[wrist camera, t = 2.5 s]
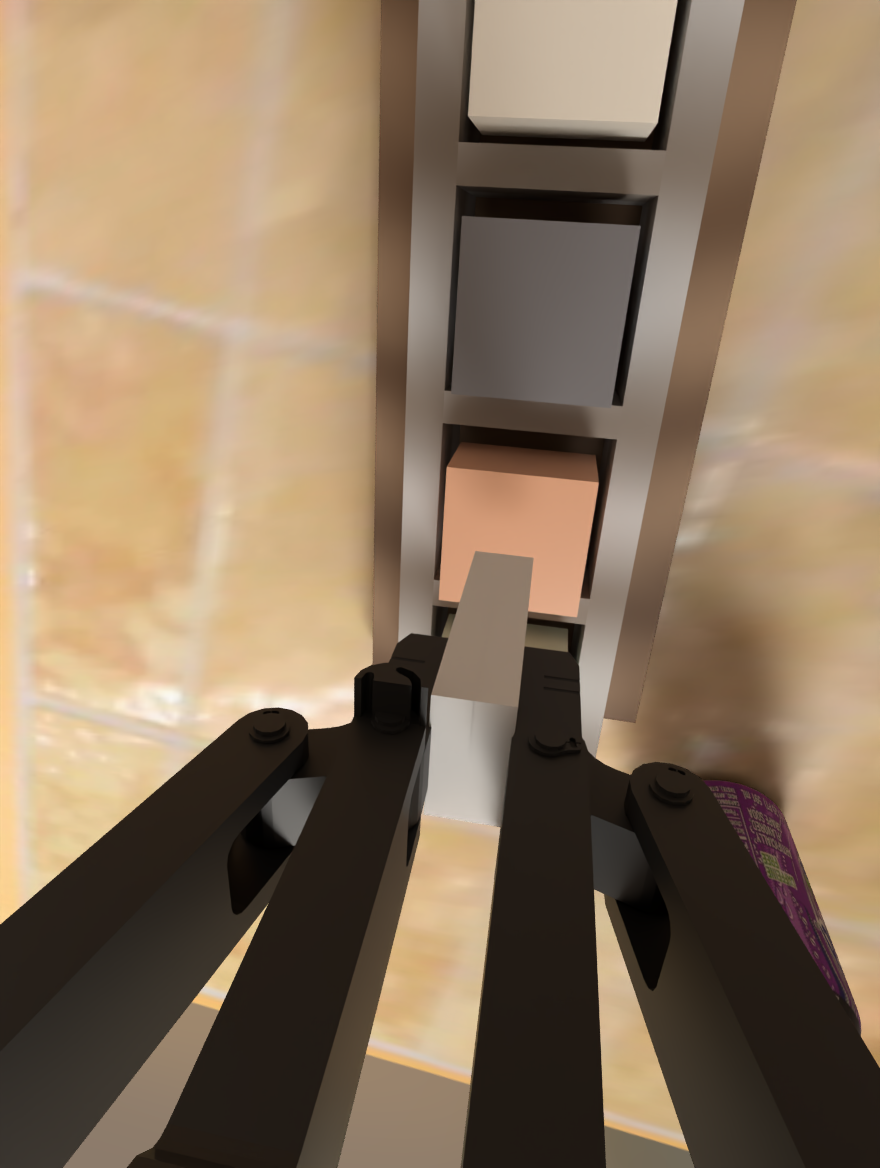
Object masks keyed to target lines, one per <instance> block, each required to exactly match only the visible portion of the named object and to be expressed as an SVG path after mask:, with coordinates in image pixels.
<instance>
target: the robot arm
mask: <svg viewBox="0 0 880 1168" xmlns="http://www.w3.org/2000/svg"><path fill="white" fill-rule="evenodd" d="M533 559H534V558H532V557H523V556H514V555H506V554H497V553H488V552H480V551H475V554H474V557H473V560H472V563H471V567H470V570H469V573H468V576H467V580H466V583H465V586H464V589H463V593H462V596H461V599H460V602H459V606H458V609H457V612H456V615H455V619H454V622H453V625H452V628H451V632H450V635H449V638H445V637H437V636H430V635H422V634H414V633H410V634H409V635H408V636H406V637H405V638H404V639H402V640H401V641H400V642H398V643H397V645H396V647H395V649H394V651H393V654H392V656H391V659H390V661H389V663H380V664H375V665H371V666H369V667H367V668H365V669H363V670H361V671H360V672H359V673H358V674H357V675H356V676H355V677H354V718H353V720H352V722H351V723H349V724H346V725H343V726H339V727H333V728H323V729H309V730H308V723H307V721H306V720H305V719H304V717H303V716H302V715H300V714H298V713H297V712H295V711H293V710H289V709H283V708H265V709H261V710H258V711H254V712H251V713H249V714H247V715H246V716H244V717H242V718H241V719H239V720H238V721H237V722H235V723H234V724H233V725H232V726H231V727H230V728H229V729H227V730H226V731H225V732H224V733H223V734H222V735H220V736H219V737H218V738H217V739H216V740H215V741H213V742H212V743H211V744H210V745H209V746H208V747H206V748H205V749H204V750H203V751H202V752H201V753H199V754H198V755H197V756H196V757H195V758H194V759H192V760H191V761H190V762H189V763H188V764H187V765H185V766H184V767H183V768H182V769H181V770H180V771H178V772H177V773H176V774H175V775H174V776H173V777H171V778H170V779H169V780H168V781H167V782H166V783H165V784H163V785H162V786H161V787H160V788H159V789H158V790H156V791H155V792H154V793H153V794H152V795H151V796H149V797H148V798H147V799H146V800H145V801H144V802H142V803H141V804H140V805H139V806H138V807H137V808H135V809H134V810H133V811H132V812H131V813H130V814H128V815H127V816H126V817H125V818H124V819H123V820H121V821H120V822H119V823H118V824H117V825H116V826H114V827H113V828H112V829H111V830H110V831H109V832H107V833H106V834H105V835H104V836H103V837H102V838H100V839H99V840H98V841H97V842H96V843H95V844H94V845H92V846H91V847H90V848H89V849H88V850H87V851H85V852H84V853H83V854H82V855H81V856H80V857H78V858H77V859H76V860H75V861H74V862H73V863H71V864H70V865H69V866H68V867H67V868H66V869H64V870H63V871H62V872H61V873H60V874H59V875H57V876H56V877H55V878H54V879H53V880H52V881H50V882H49V883H48V884H47V885H46V886H45V887H43V888H42V889H41V890H40V891H39V892H38V893H36V894H35V895H34V896H33V897H32V898H31V899H30V900H28V901H27V902H26V903H25V904H24V905H23V906H21V907H20V908H19V909H18V910H17V911H16V912H14V913H13V914H12V915H11V916H10V917H9V918H7V919H6V920H5V921H4V922H3V923H2V924H0V1168H63V1167H64V1165H65V1164H66V1163H67V1162H68V1160H69V1159H70V1158H71V1156H72V1155H73V1154H74V1153H75V1151H76V1150H77V1149H78V1148H79V1146H80V1145H81V1144H82V1142H83V1141H84V1140H85V1139H86V1137H87V1136H88V1135H89V1133H90V1132H91V1131H92V1130H93V1128H94V1127H95V1126H96V1124H97V1123H98V1122H99V1121H100V1119H101V1118H102V1117H103V1115H104V1114H105V1113H106V1112H107V1110H108V1109H109V1108H110V1106H111V1105H112V1104H113V1103H114V1101H115V1100H116V1099H117V1097H118V1096H119V1095H120V1094H121V1092H122V1091H123V1090H124V1088H125V1087H126V1086H127V1084H128V1083H129V1082H130V1081H131V1079H132V1078H133V1077H134V1075H135V1074H136V1073H137V1072H138V1070H139V1069H140V1068H141V1066H142V1065H143V1064H144V1063H145V1061H146V1060H147V1059H148V1057H149V1056H150V1055H151V1054H152V1052H153V1051H154V1050H155V1048H156V1047H157V1046H158V1045H159V1043H160V1042H161V1040H162V1039H163V1038H164V1037H165V1036H166V1034H167V1033H168V1032H169V1030H170V1029H171V1028H172V1027H173V1025H174V1024H175V1023H176V1021H177V1020H178V1019H179V1018H180V1016H181V1015H182V1014H183V1012H184V1011H185V1010H186V1009H187V1007H188V1006H189V1005H190V1004H191V1002H192V1001H193V1000H194V998H195V997H196V996H197V994H198V993H199V992H200V991H201V989H202V988H203V987H204V985H205V984H206V983H207V982H208V980H209V979H210V978H211V976H212V975H213V974H214V973H215V971H216V970H217V969H218V967H219V966H220V965H221V964H222V962H223V961H224V960H225V958H226V957H227V956H228V955H229V953H230V952H231V951H232V949H233V948H234V947H235V946H236V944H237V943H238V942H239V940H240V939H241V938H242V937H243V935H244V934H245V933H246V931H247V930H248V929H249V928H250V926H251V925H252V924H253V922H254V921H255V920H256V919H257V917H258V916H259V915H260V913H261V912H262V911H263V910H264V908H265V907H266V906H267V904H268V903H269V904H268V906H267V908H266V910H265V912H264V914H263V917H262V919H261V921H260V923H259V925H258V928H257V930H256V932H255V934H254V936H253V939H252V941H251V943H250V945H249V947H248V949H247V952H246V954H245V956H244V958H243V960H242V963H241V965H240V967H239V969H238V971H237V973H236V976H235V978H234V980H233V982H232V984H231V987H230V989H229V991H228V993H227V995H226V998H225V1000H224V1002H223V1004H222V1006H221V1008H220V1011H219V1013H218V1015H217V1017H216V1020H215V1022H214V1024H213V1026H212V1028H211V1030H210V1033H209V1035H208V1037H207V1039H206V1041H205V1043H204V1046H203V1048H202V1050H201V1052H200V1054H199V1057H198V1059H197V1061H196V1063H195V1065H194V1068H193V1070H192V1072H191V1074H190V1076H189V1079H188V1081H187V1083H186V1085H185V1087H184V1089H183V1092H182V1094H181V1096H180V1098H179V1101H178V1103H177V1105H176V1107H175V1109H174V1111H173V1113H172V1116H171V1118H170V1120H169V1122H168V1124H167V1126H166V1128H165V1130H164V1132H163V1134H162V1136H161V1138H160V1139H159V1140H158V1142H157V1143H156V1144H155V1145H154V1147H153V1148H151V1149H149V1150H147V1151H145V1152H143V1153H141V1154H139V1155H137V1156H136V1157H135V1158H134V1159H133V1161H132V1162H131V1163H130V1164H129V1166H128V1167H127V1168H337V1167H338V1162H339V1159H340V1155H341V1150H342V1147H343V1142H344V1139H345V1135H346V1130H347V1126H348V1122H349V1118H350V1114H351V1110H352V1106H353V1102H354V1098H355V1094H356V1090H357V1086H358V1082H359V1078H360V1074H361V1070H362V1066H363V1062H364V1058H365V1054H366V1050H367V1046H368V1042H369V1038H370V1034H371V1030H372V1026H373V1022H374V1018H375V1014H376V1010H377V1006H378V1002H379V998H380V994H381V990H382V986H383V981H384V977H385V973H386V969H387V965H388V961H389V957H390V953H391V949H392V945H393V941H394V937H395V933H396V929H397V925H398V921H399V917H400V913H401V909H402V905H403V901H404V897H405V893H406V889H407V885H408V881H409V877H410V873H411V869H412V865H413V861H414V857H415V853H416V849H417V845H418V840H419V836H420V821H421V813H422V809H423V805H424V815H430V816H436V817H442V818H448V819H454V820H460V821H466V822H472V823H478V824H484V825H491V826H497V827H501V829H500V837H499V845H498V853H497V860H496V868H495V876H494V887H493V896H492V904H491V913H490V921H489V930H488V938H487V947H486V955H485V964H484V973H483V981H482V990H481V998H480V1007H479V1015H478V1024H477V1032H476V1041H475V1049H474V1058H473V1067H472V1075H471V1084H470V1092H469V1101H468V1109H467V1118H466V1126H465V1135H464V1143H463V1153H462V1161H461V1168H606V1159H605V1136H604V1113H603V1089H602V1066H601V1043H600V1020H599V997H598V974H597V951H596V927H595V904H594V889H595V890H597V891H599V892H601V893H603V894H604V897H605V905H606V908H607V911H608V914H609V917H610V920H611V923H612V926H613V928H614V931H615V934H616V937H617V940H618V943H619V946H620V949H621V952H622V955H623V958H624V961H625V964H626V967H627V970H628V973H629V976H630V979H631V982H632V984H633V987H634V990H635V993H636V996H637V999H638V1002H639V1005H640V1008H641V1011H642V1014H643V1017H644V1020H645V1023H646V1026H647V1029H648V1032H649V1035H650V1038H651V1040H652V1043H653V1046H654V1049H655V1052H656V1055H657V1058H658V1061H659V1064H660V1067H661V1070H662V1073H663V1076H664V1079H665V1082H666V1085H667V1088H668V1091H669V1093H670V1096H671V1099H672V1102H673V1105H674V1108H675V1111H676V1114H677V1117H678V1120H679V1123H680V1126H681V1129H682V1132H683V1135H684V1138H685V1141H686V1144H687V1147H688V1149H689V1152H690V1155H691V1158H692V1161H693V1164H694V1167H695V1168H880V1068H879V1066H878V1064H877V1063H876V1061H875V1060H874V1058H873V1056H872V1055H871V1053H870V1051H869V1050H868V1048H867V1046H866V1045H865V1043H864V1041H863V1040H862V1038H861V1036H860V1035H859V1033H858V1031H857V1030H856V1028H855V1027H854V1025H853V1023H852V1022H851V1020H850V1018H849V1017H848V1015H847V1013H846V1012H845V1010H844V1008H843V1007H842V1005H841V1003H840V1002H839V1000H838V999H837V997H836V995H835V994H834V992H833V990H832V989H831V987H830V985H829V984H828V982H827V980H826V979H825V977H824V975H823V974H822V972H821V971H820V969H819V967H818V966H817V964H816V962H815V961H814V959H813V957H812V956H811V954H810V952H809V951H808V949H807V947H806V946H805V944H804V943H803V941H802V939H801V938H800V936H799V934H798V933H797V931H796V929H795V928H794V926H793V924H792V923H791V921H790V919H789V918H788V916H787V914H786V913H785V911H784V910H783V908H782V906H781V905H780V903H779V901H778V900H777V898H776V896H775V895H774V893H773V891H772V890H771V888H770V886H769V885H768V883H767V882H766V880H765V878H764V877H763V875H762V873H761V872H760V870H759V868H758V867H757V865H756V863H755V862H754V860H753V858H752V857H751V855H750V854H749V852H748V850H747V849H746V847H745V845H744V844H743V842H742V840H741V839H740V837H739V835H738V834H737V832H736V830H735V829H734V827H733V826H732V824H731V822H730V821H729V819H728V817H727V816H726V814H725V812H724V811H723V809H722V807H721V806H720V804H719V802H718V801H717V799H716V797H715V796H714V794H713V793H712V791H711V789H710V788H709V787H708V786H707V785H706V784H705V782H704V781H703V780H702V779H701V778H700V777H698V776H697V775H695V774H693V773H692V772H690V771H689V770H687V769H684V768H682V767H679V766H676V765H673V764H668V763H660V762H654V763H648V764H643V765H641V766H640V767H638V768H636V769H635V770H634V771H633V773H632V775H629V774H626V773H623V772H621V771H618V770H615V769H613V768H611V767H609V766H607V765H605V764H603V763H602V762H600V761H599V760H597V759H596V758H595V757H594V756H593V755H592V754H591V753H590V752H589V751H588V749H587V746H586V743H585V740H584V739H583V738H582V724H581V697H580V669H579V665H578V663H577V662H576V661H575V659H574V658H573V657H572V655H571V654H570V652H564V651H556V650H549V649H541V648H534V647H526V646H525V636H526V626H527V617H528V607H529V598H530V588H531V578H532V569H533ZM424 801H425V803H424Z"/></svg>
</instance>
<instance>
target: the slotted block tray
mask: <svg viewBox="0 0 880 1168" xmlns="http://www.w3.org/2000/svg"><path fill="white" fill-rule="evenodd" d="M796 1H797V0H678V1H677V7H676V13H675V19H674V25H673V31H672V37H671V44H670V50H669V56H668V62H667V68H666V74H665V80H664V86H663V93H662V99H661V105H660V111H659V117H658V123H657V124H656V126H655V127H654V129H653V130H652V132H651V133H650V135H649V136H648V138H647V139H646V141H645V142H641V141H616V140H592V139H567V138H542V137H517V136H492V135H482V134H481V133H480V131H479V130H478V129H477V127H476V126H475V125H474V123H473V122H472V121H471V119H470V118H469V117H468V108H469V92H470V75H471V59H472V42H473V26H474V9H475V0H381V72H380V148H379V224H378V299H377V375H376V451H375V527H374V602H373V665H375V664H380V663H389V661H390V659H391V656H392V654H393V651H394V649H395V647H396V645H397V643H398V642H400V641H401V640H402V639H404V638H405V637H406V636H408V635H409V634H410V633H414V634H422V635H430V636H437V637H442V634H443V631H444V628H445V625H446V622H447V619H448V616H449V614H456V612H457V609H458V606H459V602H452V601H444V600H439V587H440V570H441V554H442V537H443V521H444V504H445V488H446V471H447V466H448V464H449V462H450V460H451V459H452V457H453V455H454V453H455V452H456V450H457V448H458V446H459V445H460V443H461V442H467V443H477V444H488V445H498V446H508V447H518V448H529V449H539V450H549V451H560V452H570V453H580V454H590V455H595V456H596V464H597V471H598V479H599V485H598V491H597V497H596V504H595V510H594V516H593V522H592V528H591V534H590V540H589V546H588V553H587V559H586V565H585V571H584V577H583V583H582V589H581V596H580V602H579V608H578V614H577V617H570V616H562V615H554V614H546V613H538V612H530V611H528V617H527V624H534V625H542V626H549V627H557V628H565V629H568V652H570V654H571V655H572V657H573V658H574V659H575V661H576V662H577V663H578V665H579V669H580V697H581V724H582V738H583V739H584V740H585V743H586V746H587V749H588V751H589V752H590V753H591V754H592V755H593V756H594V757H595V758H596V753H597V748H598V743H599V738H600V732H601V727H602V722H603V718H606V719H612V720H619V721H626V722H633V723H635V722H636V717H637V713H638V708H639V704H640V700H641V695H642V691H643V686H644V682H645V677H646V673H647V668H648V664H649V659H650V655H651V650H652V646H653V641H654V637H655V632H656V628H657V623H658V619H659V614H660V610H661V606H662V601H663V597H664V592H665V588H666V583H667V579H668V574H669V570H670V565H671V561H672V556H673V552H674V547H675V543H676V538H677V534H678V529H679V525H680V520H681V516H682V511H683V507H684V503H685V498H686V494H687V489H688V485H689V480H690V476H691V471H692V467H693V462H694V458H695V453H696V449H697V444H698V440H699V435H700V431H701V426H702V422H703V417H704V413H705V408H706V404H707V400H708V395H709V391H710V386H711V382H712V377H713V373H714V368H715V364H716V359H717V355H718V350H719V346H720V341H721V337H722V332H723V328H724V323H725V319H726V314H727V310H728V305H729V301H730V297H731V292H732V288H733V283H734V279H735V274H736V270H737V265H738V261H739V256H740V252H741V247H742V243H743V238H744V234H745V229H746V225H747V220H748V216H749V211H750V207H751V203H752V198H753V194H754V189H755V185H756V180H757V176H758V171H759V167H760V162H761V158H762V153H763V149H764V144H765V140H766V135H767V131H768V126H769V122H770V117H771V113H772V108H773V104H774V100H775V95H776V91H777V86H778V82H779V77H780V73H781V68H782V64H783V59H784V55H785V50H786V46H787V41H788V37H789V32H790V28H791V23H792V19H793V14H794V10H795V5H796ZM462 216H472V217H490V218H508V219H526V220H544V221H562V222H580V223H598V224H617V225H635V226H641V228H640V234H639V240H638V246H637V252H636V258H635V264H634V270H633V277H632V283H631V289H630V295H629V301H628V307H627V313H626V320H625V326H624V332H623V338H622V344H621V350H620V356H619V362H618V369H617V375H616V381H615V387H614V393H613V399H612V405H611V408H603V407H591V406H580V405H569V404H558V403H546V402H535V401H524V400H512V399H501V398H490V397H478V396H467V395H456V394H451V389H452V372H453V356H454V339H455V323H456V306H457V290H458V273H459V257H460V240H461V224H462Z"/></svg>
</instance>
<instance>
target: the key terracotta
mask: <svg viewBox="0 0 880 1168" xmlns="http://www.w3.org/2000/svg"><path fill="white" fill-rule="evenodd" d="M598 485H599V479H598V471H597V464H596V456H595V455H590V454H580V453H570V452H560V451H549V450H539V449H529V448H518V447H508V446H498V445H488V444H477V443H467V442H461V443H460V445H459V446H458V448H457V450H456V452H455V453H454V455H453V457H452V459H451V460H450V462H449V464H448V466H447V471H446V488H445V504H444V521H443V537H442V554H441V570H440V587H439V600H444V601H452V602H460V599H461V596H462V593H463V589H464V586H465V583H466V580H467V576H468V573H469V570H470V567H471V563H472V560H473V557H474V554H475V551H480V552H488V553H497V554H506V555H514V556H523V557H532V558H534V559H533V569H532V578H531V588H530V598H529V607H528V611H530V612H538V613H546V614H554V615H562V616H570V617H577V614H578V608H579V602H580V596H581V589H582V583H583V577H584V571H585V565H586V559H587V553H588V546H589V540H590V534H591V528H592V522H593V516H594V510H595V504H596V497H597V491H598Z"/></svg>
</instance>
